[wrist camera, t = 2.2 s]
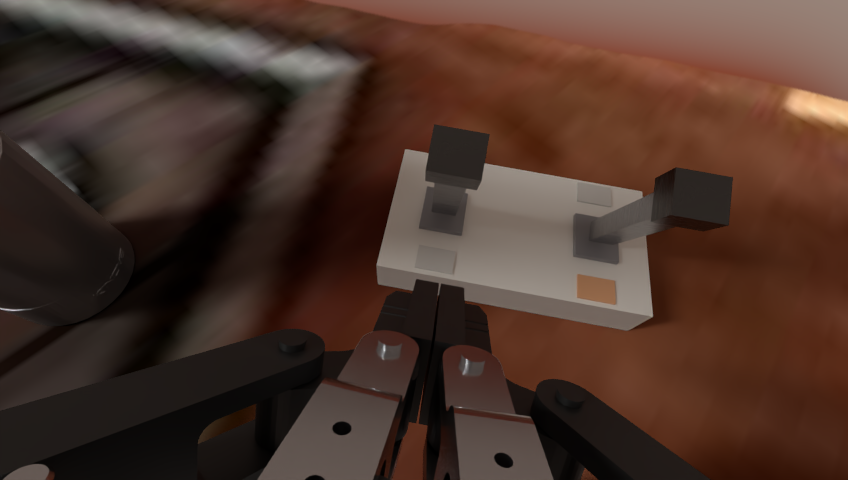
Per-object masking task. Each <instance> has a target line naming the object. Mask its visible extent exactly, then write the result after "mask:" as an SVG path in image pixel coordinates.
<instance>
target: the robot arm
mask: <svg viewBox="0 0 848 480" xmlns="http://www.w3.org/2000/svg"><path fill="white" fill-rule="evenodd" d="M134 263H135V258H134V250H133V248H132V245H131V243H130V242H129V240H128V239H127V238H126V236H125V235H123V234H122V233H121V232H120V231H119V230H117V229H116V228H115V227H114V226H113V225H112V224H110V223H109V222H108V221H107V220H106V219H104V218H103V217H102V216H101V215H100V214H99V213H98V212H97V211H95V210H94V209H93V208H92V207H91V206H90V205H88V204H87V203H86V202H85V201H84V200H82V199H81V198H80V197H79V196H78V195H77V194H75V193H74V192H73V191H72V190H71V189H69V188H68V187H67V186H66V185H65V184H64V183H62V182H61V181H60V180H59V179H58V178H56V177H55V176H54V175H53V174H52V173H51V172H49V171H48V170H47V169H46V168H45V167H43V166H42V165H41V164H40V163H39V162H38V161H36V160H35V159H34V158H33V157H32V156H30V155H29V154H28V153H27V152H26V151H25V150H23V149H22V148H21V147H20V146H19V145H18V144H16V143H15V142H14V141H13V140H12V139H10V138H9V137H8V136H7V135H6V134H5V133H3V132H2V131H1V130H0V309H1V310H4V311H6V312H9V313H11V314H14V315H16V316H19V317H22V318H24V319H27V320H29V321H32V322H34V323H37V324H42V325H47V326H63V325H68V324H73V323H77V322H79V321H82V320H85V319H87V318H90V317H91V316H93V315H95V314H97V313H99V312H100V311H102V310H103V309H104V308H106V307H107V306H108V305H110V304H111V303H112V302H113V301H114V300H115V299H116V298H117V297H118V296H119V295H120V294H121V293H122V291H123V290H124V288H125V287H126V285H127V284H128V282H129V280H130V277H131V275H132V273H133V268H134ZM438 288H439V283H436V282H431V281H425V280H420V279H416V281H415V285H414V289H413V293H412V294H411V293H406V292H400V291H395V292H394V293H392V294H390V295H389V296H387V297H386V300H385V302H384V305H383V307H382V310H381V313H380V315H379V317H378V320H377V322H376V325H375V327H374V330H373V332H370V333H368V334H366V335H365V336H363V337H362V339H361V340H360V342H359V343H358V345H357V347H356V348H355V349H353V350H349V351H324V350H325V344H324V341H323V340H322V338H320V337H319V336H318V335H316V334H314V333H312V332H309V331H306V330H300V329H284V330H279V331H275V332H271V333H268V334H265V335H261V336H258V337H254V338H251V339H247V340H244V341H240V342H237V343H233V344H230V345H227V346H223V347H220V348H216V349H213V350H209V351H206V352H202V353H199V354H195V355H192V356H188V357H185V358H182V359H178V360H175V361H171V362H168V363H164V364H161V365H157V366H154V367H150V368H147V369H144V370H140V371H137V372H133V373H130V374H126V375H123V376H119V377H116V378H112V379H109V380H106V381H102V382H99V383H95V384H92V385H88V386H85V387H81V388H78V389H74V390H71V391H67V392H64V393H61V394H57V395H54V396H50V397H47V398H43V399H40V400H36V401H33V402H29V403H26V404H23V405H19V406H16V407H12V408H9V409H5V410H2V411H0V480H392V479H393V475H394V472H395V468H396V464H397V461H398V457H399V454H400V450H401V446H402V440H403V437H404V436H405V434H406V432H407V429H408V424H409V422H412V423H416V421H417V416H418V410H419V405H420V400H421V395H422V390H423V395H422V403H421V410H420V418H419V424H423V425H428V428H427V435H426V440H425V445H424V449H423V480H580V479H581V476H582V473H583V471H584V468H586V469H587V470H588V471H590V472H591V473H592V474H593V475H594V476H595V477H596V478H597V479H599V480H710V479H709V478H708V477H706V476H705V475H703V474H702V473H701V472H699V471H698V470H696V469H695V468H694V467H692V466H691V465H690V464H688V463H687V462H685V461H684V460H683V459H681V458H680V457H678V456H677V455H676V454H674V453H673V452H671V451H670V450H669V449H667V448H666V447H665V446H663V445H662V444H660V443H659V442H658V441H656V440H655V439H653V438H652V437H651V436H649V435H648V434H647V433H645V432H644V431H642V430H641V429H640V428H638V427H637V426H635V425H634V424H633V423H631V422H630V421H629V420H627V419H626V418H624V417H623V416H622V415H620V414H619V413H617V412H616V411H615V410H613V409H612V408H611V407H609V406H608V405H606V404H605V403H604V402H602V401H601V400H599V399H598V398H597V397H595V396H594V395H592V394H591V393H590V392H588V391H587V390H585V389H584V388H582V387H580V386H578V385H576V384H573V383H571V382H568V381H564V380H558V379H548V380H544V381H542V382H540V383H539V384H538V386H537V388H536V392H534V391H531V390H529V389H526V388H524V387H521V386H519V385H517V384H514V383H513V382H511V381H509V380H508V379H506V378H505V376H504V373H503V369H502V366H501V363H500V362H499V360H498V359H497V358H496V357H495V356H493V355H492V351H491V344H490V337H489V329H488V322H487V315H486V314H485V313H484V312H483V310H482V309H481V308H480V307H479V306H476V305H470V304H465V298H464V288H463V287H458V286H453V285H447V284H442V283H441V286H440V290H439V296H438ZM437 296H438V301H437ZM436 304H437V306H436ZM424 379H425V380H424ZM423 385H424V388H423ZM253 404H256V417H255V420H253V421H250V422H248V423H246V424H243V425H241V426H239V427H237V428H234V429H232V430H230V431H227V432H225V433H223V434H221V435H218V436H216V437H214V438H211V439H209V440H207V441H205V442H202V443H200V444H198V439H199V437H200V435H201V433H202V432H203V430H204V429H205V428H206V427H207V426H208V425H209V424H211V423H212V422H214V421H215V420H217V419H219V418H222V417H224V416H227V415H229V414H231V413H234V412H236V411H239V410H241V409H244V408H246V407H249V406H251V405H253Z"/></svg>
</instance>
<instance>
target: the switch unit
mask: <svg viewBox="0 0 848 480" xmlns="http://www.w3.org/2000/svg"><path fill="white" fill-rule="evenodd" d="M428 155H429V153H424V152H418V151H413V150H407V149H405V152H404V156H403V161H402V165H401V169H400V173H399V177H398V181H397V185H396V189H395V193H394V197H393V201H392V205H391V209H390V213H389V217H388V221H387V225H386V229H385V233H384V237H383V241H382V245H381V249H380V253H379V257H378V261H377V265H376V266H377V279H378V284H380V285H385V286H390V287H396V288H401V289H406V290H412V291H413V289H414V285H415V281H416V279H420V280H425V281H431V282H436V283H439V288H438V295H439V290H440V286H441V283H442V284H447V285H453V286H458V287H463V288H464V298H465V301H471V302H476V303H481V304H487V305H492V306H497V307H503V308H508V309H514V310H519V311H524V312H530V313H535V314H540V315H546V316H551V317H556V318H562V319H567V320H572V321H578V322H583V323H589V324H594V325H599V326H605V327H610V328H615V329H621V330H626V331H628V330H630V329H632V328H634V327H636V326H637V325H639V324H641V323H643V322H645V321H646V320H648V319H650V318H652V317H653V311H652V300H651V289H650V277H649V266H648V254H647V243H646V236H642V237H639V238H635V239H632V240H628V241H625V242H621V243H618V244H614V245H611V244H605V243H600V242H594V241H589V233H590V226H591V221H593V220H595V219H597V218H600V217H602V216H604V215H606V214H608V213H610V212H613V211H615V210H617V209H619V208H621V207H623V206H626V205H628V204H630V203H632V202H634V201H636V200H638V199H641V198H643V197H642V192H641V191H636V190H630V189H625V188H619V187H614V186H608V185H602V184H597V183H591V182H586V181H580V180H574V179H569V178H563V177H558V176H552V175H547V174H541V173H535V172H530V171H524V170H519V169H513V168H508V167H502V166H496V165H491V164H484V170H483V175H482V181H481V183H480V185H479V187H478V189H477V190H471V189H466V191H465V193H464V196H463V199H462V201H461V204H460V206H459V209H458V211H457V214H456V216H452V215H446V214H441V213H435V212H432V202H433V192H434V183H433V182H427V181H425V170H426V165H427V160H428Z"/></svg>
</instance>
